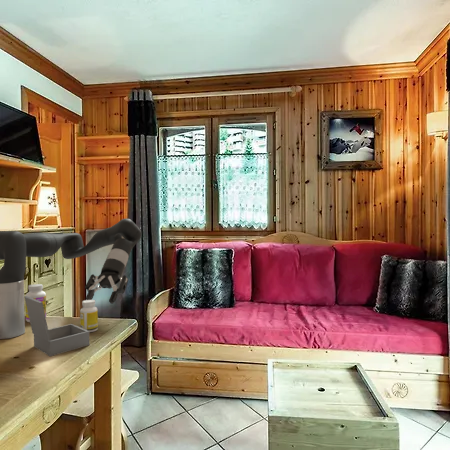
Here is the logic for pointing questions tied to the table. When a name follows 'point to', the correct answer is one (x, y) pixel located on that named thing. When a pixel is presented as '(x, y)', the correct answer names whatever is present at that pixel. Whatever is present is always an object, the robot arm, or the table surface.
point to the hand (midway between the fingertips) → (99, 302)
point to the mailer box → (53, 332)
